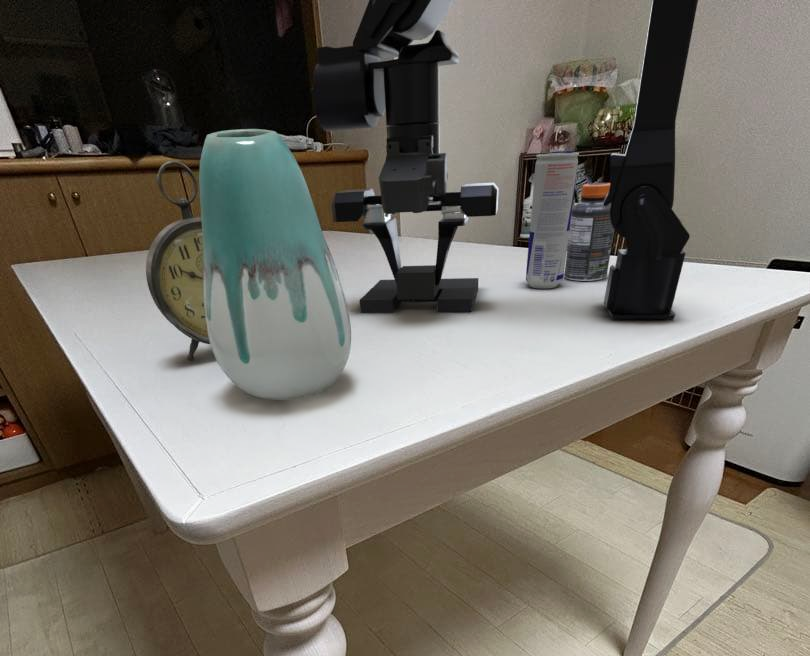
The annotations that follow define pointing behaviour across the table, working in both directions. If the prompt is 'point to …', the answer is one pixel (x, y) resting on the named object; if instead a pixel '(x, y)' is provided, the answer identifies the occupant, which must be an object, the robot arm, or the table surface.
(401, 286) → the pad
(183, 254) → the alarm clock
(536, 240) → the beverage can
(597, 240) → the pill bottle
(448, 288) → the base pad
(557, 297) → the table surface
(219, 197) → the vase
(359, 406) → the table surface
